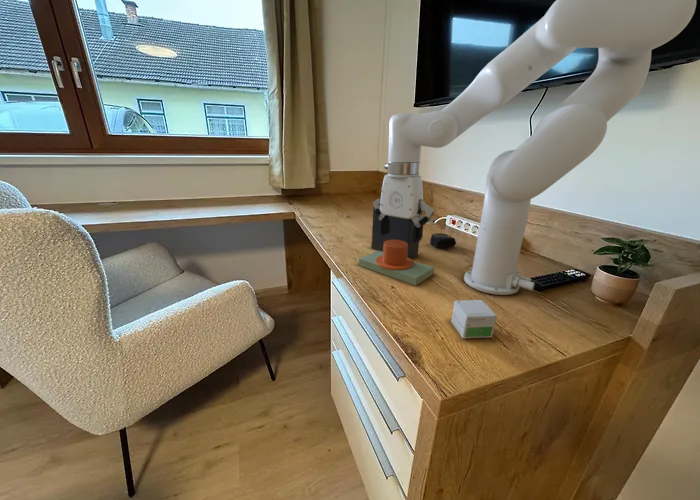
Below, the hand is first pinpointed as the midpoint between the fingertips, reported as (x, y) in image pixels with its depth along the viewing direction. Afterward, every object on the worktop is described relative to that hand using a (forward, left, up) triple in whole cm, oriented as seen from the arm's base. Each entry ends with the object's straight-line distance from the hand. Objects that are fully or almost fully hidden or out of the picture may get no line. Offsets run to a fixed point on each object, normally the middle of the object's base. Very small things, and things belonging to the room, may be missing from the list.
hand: (400, 237), depth 80 cm
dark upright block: (+9, -11, -9) cm, 17 cm away
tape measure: (0, -26, -9) cm, 28 cm away
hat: (+1, 0, -7) cm, 7 cm away
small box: (-25, +14, -9) cm, 30 cm away
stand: (+1, 0, -9) cm, 9 cm away
